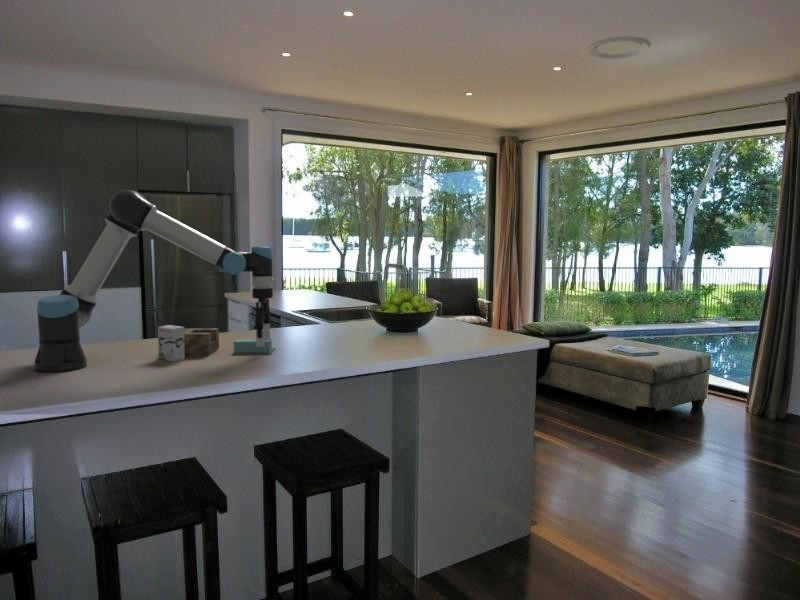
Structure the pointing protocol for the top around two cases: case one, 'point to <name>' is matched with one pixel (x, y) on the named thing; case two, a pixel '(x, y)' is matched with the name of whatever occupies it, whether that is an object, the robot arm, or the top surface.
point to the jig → (201, 341)
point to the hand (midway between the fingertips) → (263, 343)
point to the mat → (253, 353)
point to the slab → (251, 345)
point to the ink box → (171, 343)
